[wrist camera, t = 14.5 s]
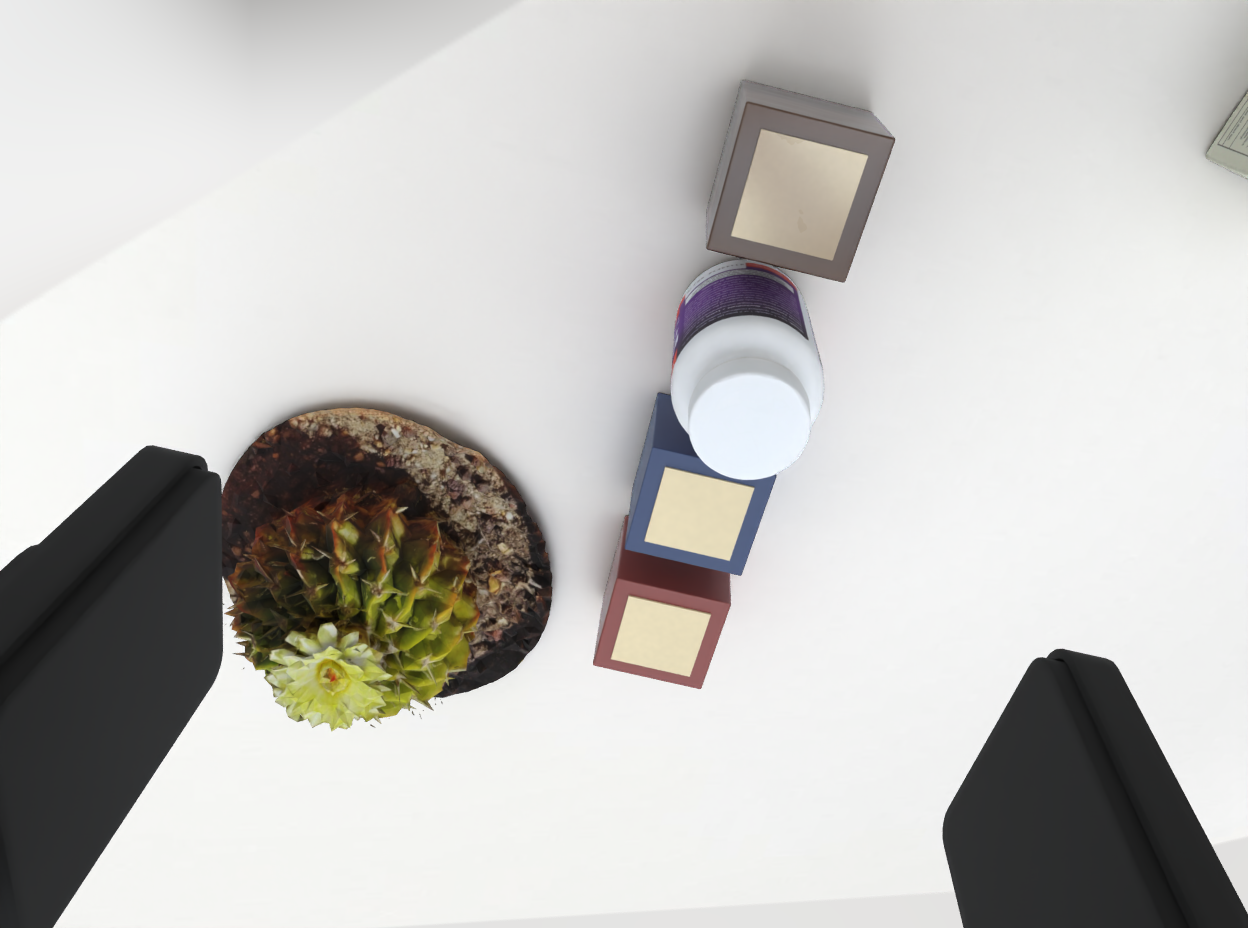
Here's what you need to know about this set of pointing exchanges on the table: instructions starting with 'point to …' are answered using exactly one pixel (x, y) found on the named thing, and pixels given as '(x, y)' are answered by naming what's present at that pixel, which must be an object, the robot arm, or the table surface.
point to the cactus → (377, 566)
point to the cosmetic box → (1233, 142)
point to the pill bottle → (745, 369)
